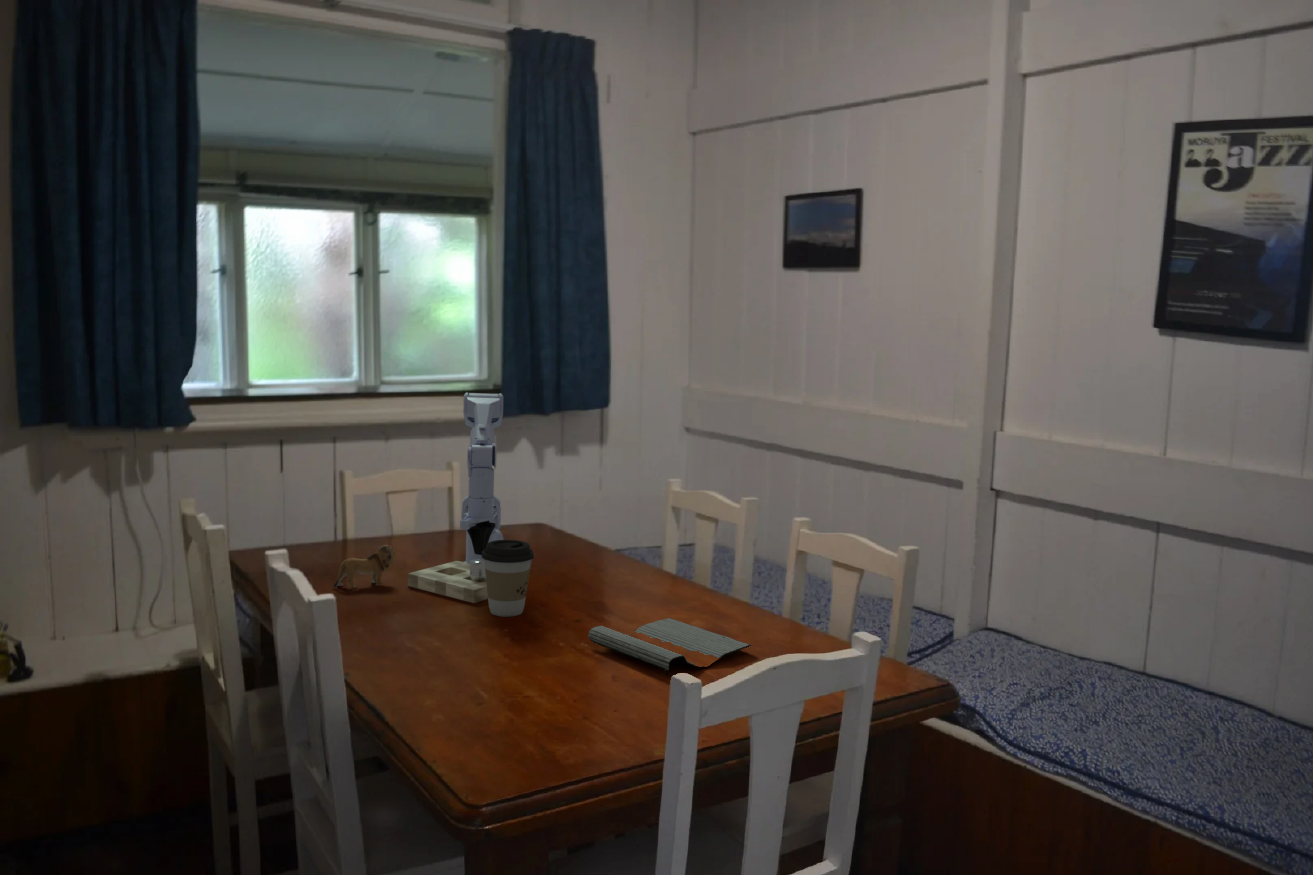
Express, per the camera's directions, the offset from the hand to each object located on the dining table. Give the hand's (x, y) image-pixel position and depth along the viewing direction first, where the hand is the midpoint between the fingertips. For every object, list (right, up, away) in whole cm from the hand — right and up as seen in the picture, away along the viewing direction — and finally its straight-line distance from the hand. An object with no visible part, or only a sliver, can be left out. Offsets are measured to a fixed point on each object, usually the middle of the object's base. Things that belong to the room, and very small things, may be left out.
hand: (479, 554), depth 233 cm
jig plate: (-4, -8, +3) cm, 10 cm away
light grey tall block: (-1, -9, +1) cm, 9 cm away
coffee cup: (+8, -11, -14) cm, 20 cm away
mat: (+44, -16, -34) cm, 58 cm away
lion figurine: (-27, -8, +2) cm, 28 cm away
